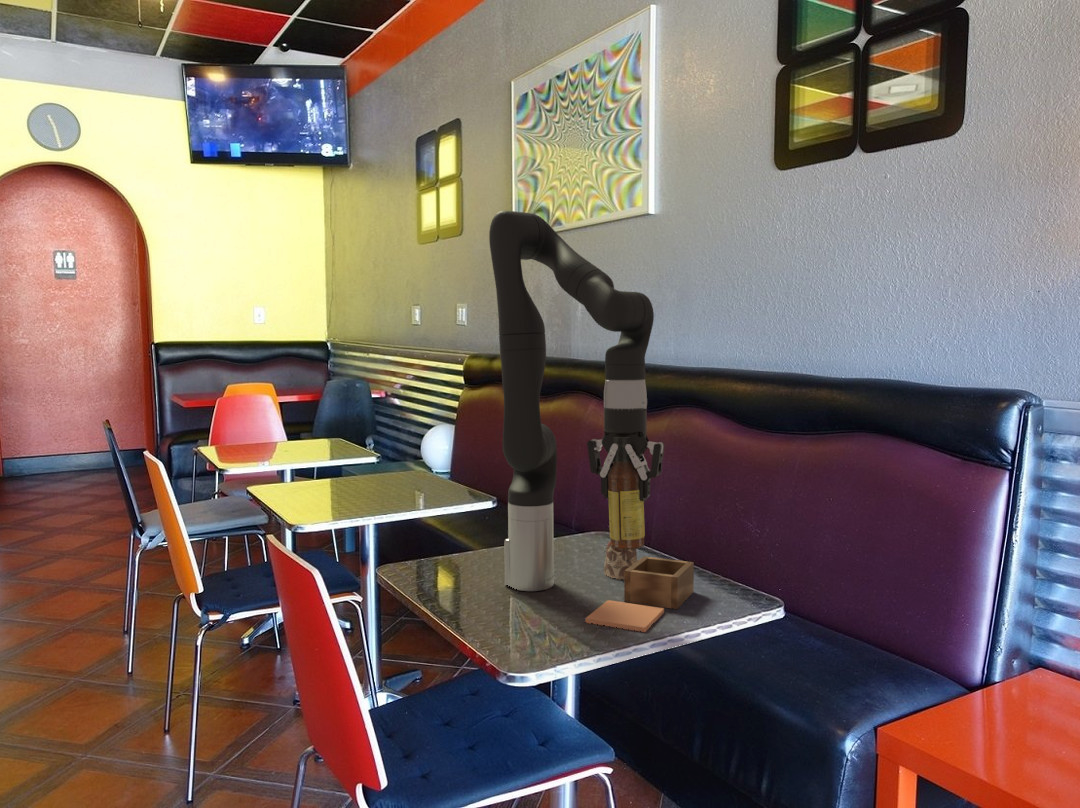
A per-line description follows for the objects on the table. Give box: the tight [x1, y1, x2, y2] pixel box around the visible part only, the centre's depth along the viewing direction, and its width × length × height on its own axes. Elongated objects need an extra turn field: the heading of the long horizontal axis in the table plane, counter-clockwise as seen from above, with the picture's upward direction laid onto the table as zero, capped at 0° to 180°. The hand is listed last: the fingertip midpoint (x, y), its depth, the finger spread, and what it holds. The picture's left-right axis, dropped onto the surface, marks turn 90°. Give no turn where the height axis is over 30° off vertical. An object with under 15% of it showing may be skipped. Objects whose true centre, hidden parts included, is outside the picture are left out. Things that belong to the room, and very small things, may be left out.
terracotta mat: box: [584, 599, 665, 633], centre depth 141 cm, size 11×11×1 cm
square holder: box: [623, 555, 695, 610], centre depth 152 cm, size 10×11×6 cm
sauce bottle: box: [607, 437, 646, 550], centre depth 139 cm, size 7×6×20 cm
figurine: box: [603, 539, 638, 580], centre depth 167 cm, size 7×7×12 cm
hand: (625, 498), depth 139 cm, fingers closed on sauce bottle, 6 cm apart
